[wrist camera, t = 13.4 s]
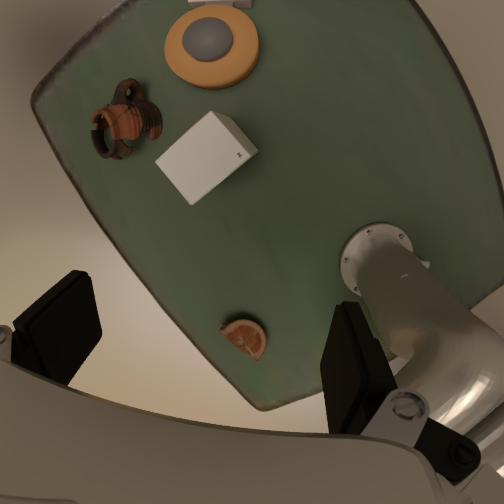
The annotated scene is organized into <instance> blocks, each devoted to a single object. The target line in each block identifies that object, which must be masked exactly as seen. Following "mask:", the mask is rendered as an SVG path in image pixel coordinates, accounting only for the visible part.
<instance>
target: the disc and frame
mask: <svg viewBox="0 0 504 504" xmlns="http://www.w3.org/2000/svg"><path fill="white" fill-rule="evenodd" d="M188 3H189V5H190V6H191V7H192V9H193V10H191V11H189V12H187V13H186V14H184V15H183V16H182V17H180V18H179V19H178V20H177V21H176V22H175V23H174V25H173V26H172V27H171V29H170V31H169V33H168V35H167V37H166V41H165V49H164V50H165V57H166V60H167V63H168V65H169V66H170V68H171V69H172V70H173V72H174V73H175V74H177V75H178V76H179V77H181V78H182V79H184V80H186V81H187V82H189V83H191V84H192V85H194V86H197V87H199V88H202V89H207V90H220V89H225V88H229V87H231V86H234V85H236V84H238V83H240V82H241V81H243V80H244V79H245V78H246V77H247V76H248V75H249V74H250V73H251V72H252V71H253V69H254V68H255V66H256V64H257V61H258V58H259V42H258V36H257V31H256V28H255V26H254V24H253V22H252V21H251V19H250V18H249V17H248V16H247V15H246V14H245V13H243V12H242V11H240V10H238V9H237V8H251V7H252V0H188Z"/></svg>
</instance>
